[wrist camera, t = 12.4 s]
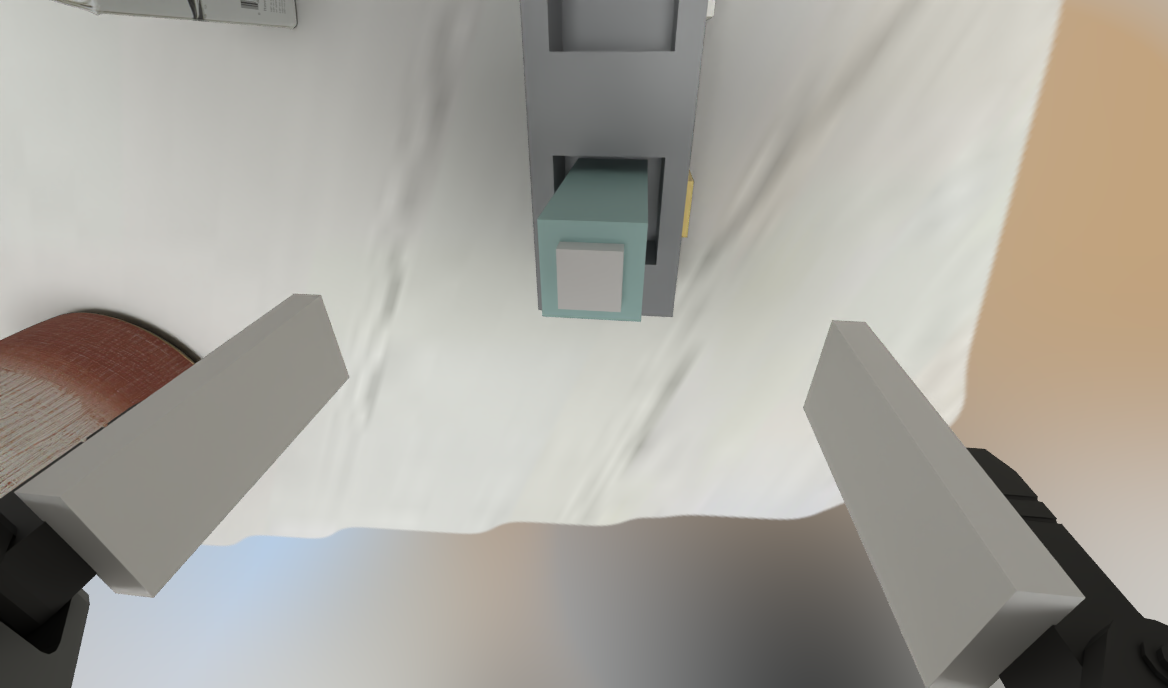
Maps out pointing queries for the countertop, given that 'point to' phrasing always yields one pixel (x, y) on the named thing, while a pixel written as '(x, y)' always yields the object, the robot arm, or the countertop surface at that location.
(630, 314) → the plug
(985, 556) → the robot arm
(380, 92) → the countertop surface
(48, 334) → the planter
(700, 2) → the socket strip
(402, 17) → the countertop surface
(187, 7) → the ink box
